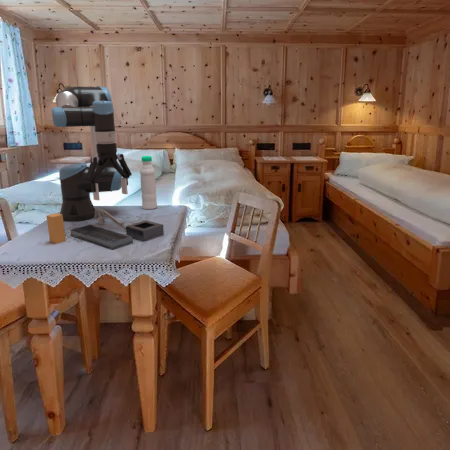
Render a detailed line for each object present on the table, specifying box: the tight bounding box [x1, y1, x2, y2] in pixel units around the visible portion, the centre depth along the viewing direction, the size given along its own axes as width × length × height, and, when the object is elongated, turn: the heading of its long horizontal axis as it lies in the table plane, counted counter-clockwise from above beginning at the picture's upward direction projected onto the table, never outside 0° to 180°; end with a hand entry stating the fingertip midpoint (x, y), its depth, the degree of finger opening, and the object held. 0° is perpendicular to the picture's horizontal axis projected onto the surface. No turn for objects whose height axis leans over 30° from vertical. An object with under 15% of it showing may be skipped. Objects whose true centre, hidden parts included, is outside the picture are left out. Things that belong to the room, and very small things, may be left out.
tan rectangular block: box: [45, 213, 67, 244], centre depth 149 cm, size 4×4×10 cm
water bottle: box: [139, 155, 158, 210], centre depth 194 cm, size 7×7×25 cm
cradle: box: [69, 224, 134, 251], centre depth 152 cm, size 26×9×2 cm, turn 52°
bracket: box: [93, 208, 127, 231], centre depth 166 cm, size 3×21×10 cm, turn 51°
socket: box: [125, 220, 165, 242], centre depth 156 cm, size 10×10×4 cm
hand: (111, 196), depth 162 cm, fingers open, 13 cm apart
